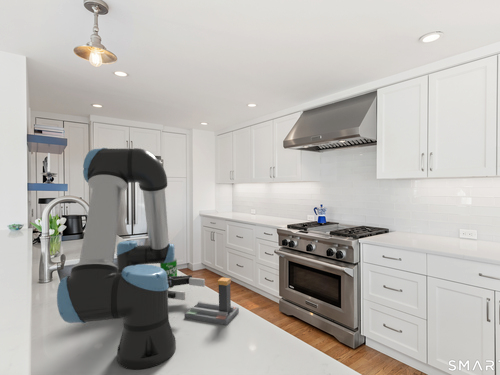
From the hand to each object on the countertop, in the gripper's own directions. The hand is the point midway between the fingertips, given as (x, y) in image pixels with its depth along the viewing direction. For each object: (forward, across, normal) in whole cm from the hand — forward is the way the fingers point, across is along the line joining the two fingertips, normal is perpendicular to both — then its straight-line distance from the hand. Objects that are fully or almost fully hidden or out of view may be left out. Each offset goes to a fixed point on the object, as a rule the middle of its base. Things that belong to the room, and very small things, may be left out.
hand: (195, 289), depth 106 cm
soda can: (-28, -23, -8) cm, 38 cm away
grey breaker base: (+7, +1, -8) cm, 11 cm away
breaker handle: (+12, +1, -6) cm, 14 cm away
